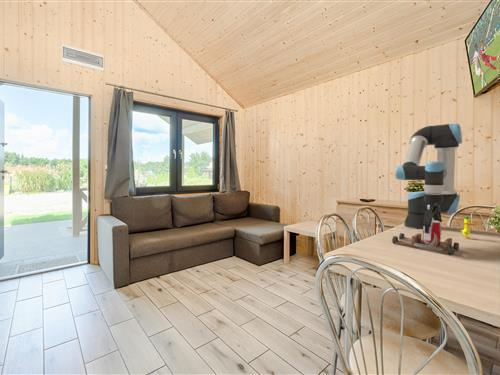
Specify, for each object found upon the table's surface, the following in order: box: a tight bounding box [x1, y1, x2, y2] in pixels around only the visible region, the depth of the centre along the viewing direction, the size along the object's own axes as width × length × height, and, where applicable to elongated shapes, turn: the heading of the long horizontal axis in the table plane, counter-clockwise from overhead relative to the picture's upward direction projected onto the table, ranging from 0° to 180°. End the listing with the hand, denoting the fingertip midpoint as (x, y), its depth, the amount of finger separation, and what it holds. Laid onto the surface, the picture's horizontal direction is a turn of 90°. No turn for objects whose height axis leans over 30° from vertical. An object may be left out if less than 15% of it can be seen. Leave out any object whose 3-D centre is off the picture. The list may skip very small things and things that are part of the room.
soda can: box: [422, 219, 442, 247], centre depth 124 cm, size 7×7×12 cm
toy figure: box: [460, 216, 478, 240], centre depth 139 cm, size 7×4×12 cm, turn 48°
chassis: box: [391, 232, 460, 256], centre depth 127 cm, size 13×25×5 cm, turn 40°
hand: (431, 237), depth 124 cm, fingers open, 13 cm apart
